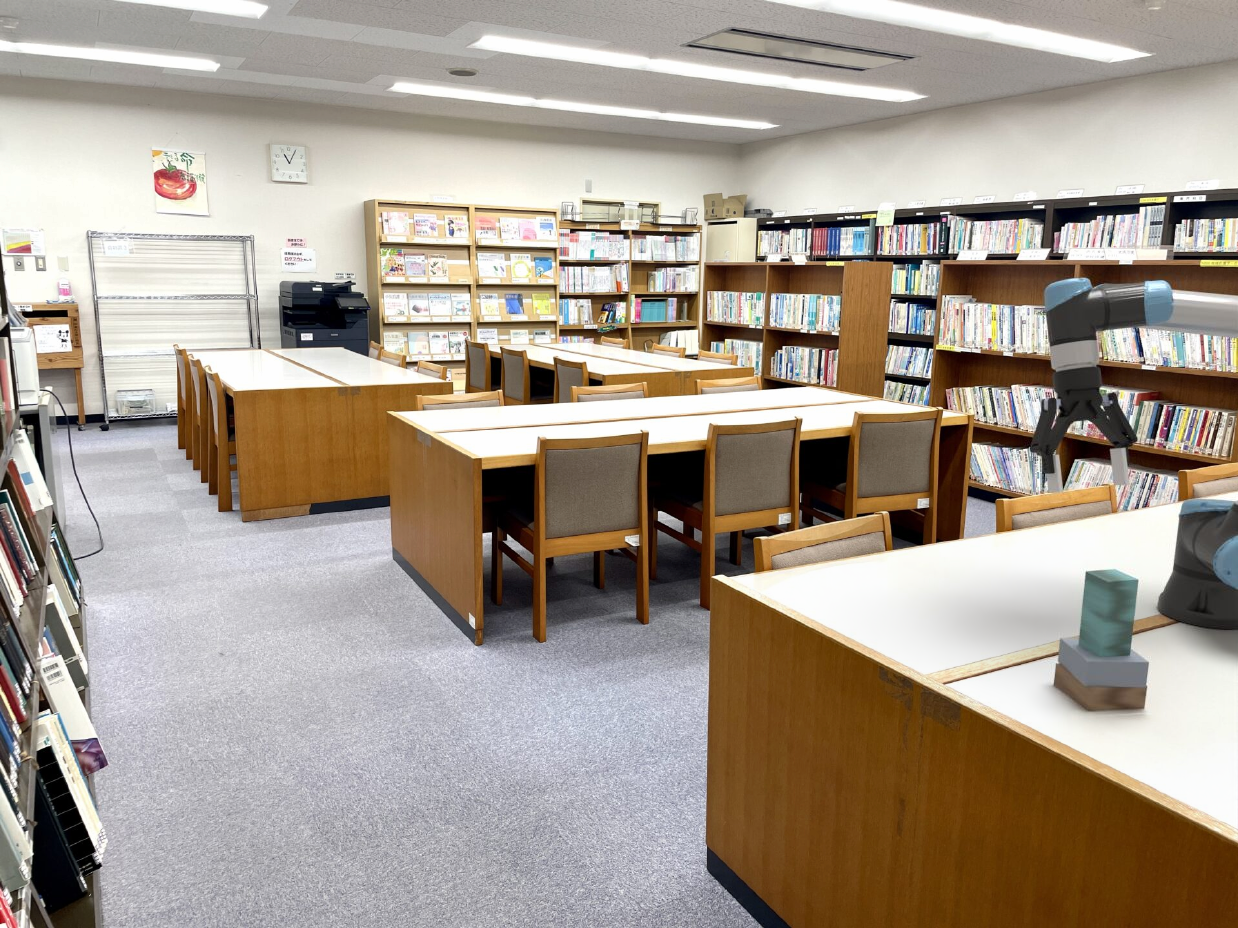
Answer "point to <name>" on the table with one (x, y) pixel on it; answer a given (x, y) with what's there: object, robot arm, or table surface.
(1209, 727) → the table surface
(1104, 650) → the tall block
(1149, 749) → the table surface
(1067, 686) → the tower bottom
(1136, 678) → the tower top
